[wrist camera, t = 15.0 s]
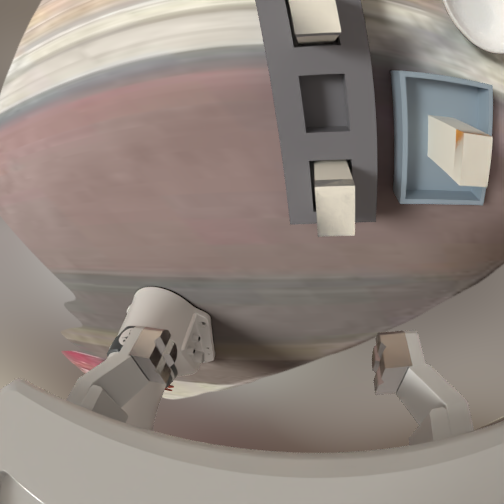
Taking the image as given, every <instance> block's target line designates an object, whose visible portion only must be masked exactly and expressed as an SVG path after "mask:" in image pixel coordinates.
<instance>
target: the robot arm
mask: <svg viewBox="0 0 504 504" xmlns="http://www.w3.org/2000/svg"><path fill="white" fill-rule="evenodd" d="M107 357H108V358H107V359H106V360H105V361H104V362H102V363H101V364H99V365H98V366H96V367H95V368H93V369H92V370H90V371H89V372H87V373H86V374H84V375H83V376H82V377H80V378H78V380H77V382H76V384H75V386H74V387H73V389H72V391H71V392H70V394H69V396H68V398H67V400H65V399H63V398H60V397H58V396H56V395H54V394H52V393H50V392H48V391H46V390H43V389H41V388H39V387H38V386H36V385H34V384H32V383H30V382H28V381H27V380H25V379H22V378H18V379H15V380H14V381H12V382H10V383H9V384H7V385H6V386H4V387H3V388H2V389H0V504H504V421H502V422H499V423H497V424H494V425H491V426H488V427H485V428H482V429H478V430H475V431H474V429H473V424H472V419H471V414H470V409H469V405H468V401H467V400H466V399H465V398H464V397H463V396H462V395H461V394H460V393H459V392H458V391H457V390H456V389H455V388H454V387H453V386H452V385H451V384H450V383H448V381H446V379H444V377H442V376H441V375H440V374H439V373H438V372H437V371H436V370H435V369H434V368H433V367H432V366H431V365H429V364H428V365H426V362H425V358H424V354H423V350H422V347H421V343H420V339H419V336H418V332H417V331H416V330H409V331H395V332H383V333H378V334H377V336H376V346H374V348H373V354H372V368H373V371H374V372H375V373H376V375H375V378H374V386H375V395H378V394H393V393H396V395H397V396H398V397H399V399H400V400H401V402H402V403H403V404H404V405H405V407H406V408H407V410H408V411H409V412H410V414H411V415H412V416H413V418H414V419H415V420H416V421H417V423H418V424H419V426H418V428H417V429H416V430H415V431H414V432H413V434H412V435H411V436H410V437H409V446H403V447H397V448H389V449H380V450H370V451H358V452H341V453H340V452H338V453H294V452H275V451H262V450H252V449H243V448H235V447H227V446H221V445H215V444H209V443H203V442H197V441H193V440H188V439H183V438H179V437H175V436H170V435H166V434H162V433H159V432H155V431H153V427H154V421H155V417H156V413H157V409H158V406H159V403H160V401H161V398H162V395H163V392H164V390H169V391H172V390H171V389H167V387H168V388H173V387H174V386H171V385H170V384H171V383H172V382H173V380H174V379H175V378H176V377H177V376H185V375H191V374H194V373H196V372H197V371H198V369H199V367H200V364H201V363H205V362H210V361H213V360H214V358H215V351H214V343H213V335H212V326H211V318H210V316H209V315H208V314H207V313H205V312H203V311H201V310H199V309H197V308H195V307H193V306H192V305H191V304H190V303H188V302H187V301H186V300H185V299H183V298H182V297H180V296H179V295H177V294H175V293H173V292H171V291H168V290H165V289H162V288H157V287H145V288H142V289H140V290H138V291H137V292H136V294H135V295H134V299H133V302H132V304H131V305H130V306H129V307H128V309H127V316H126V318H125V320H124V322H123V325H122V327H121V329H120V331H119V334H118V336H117V337H116V338H115V340H114V342H113V343H112V345H111V346H110V348H109V351H108V353H107Z"/></svg>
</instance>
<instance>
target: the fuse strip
mask: <svg viewBox="0 0 504 504" xmlns="http://www.w3.org/2000/svg"><path fill="white" fill-rule="evenodd" d="M255 1H256V6H257V11H258V16H259V21H260V26H261V31H262V36H263V42H264V47H265V52H266V58H267V64H268V69H269V75H270V81H271V87H272V93H273V99H274V106H275V112H276V119H277V125H278V132H279V139H280V146H281V153H282V161H283V168H284V176H285V184H286V192H287V200H288V209H289V217H290V224H315V223H317V213H316V198H315V176H314V161H317V160H343V159H346V162H347V164H348V167H349V170H350V173H351V175H352V178H353V181H354V184H355V222H376V206H377V128H376V109H375V96H374V84H373V75H372V66H371V58H370V51H369V44H368V37H367V31H366V25H365V20H364V15H363V10H362V5H361V0H335V2H336V6H337V11H338V16H339V22H340V27H341V34H340V35H339V36H338V37H337V39H336V40H335V41H334V42H333V44H312V45H299V43H298V41H297V38H296V35H295V30H294V25H293V20H292V15H291V10H290V5H289V0H255Z"/></svg>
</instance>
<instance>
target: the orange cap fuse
mask: <svg viewBox="0 0 504 504" xmlns="http://www.w3.org/2000/svg"><path fill="white" fill-rule="evenodd" d="M492 142H493V137H492V136H490V135H488V134H486V133H484V132H482V131H480V130H478V129H476V128H474V127H472V126H470V125H468V124H466V123H464V122H462V121H460V120H457V119H455V118H452V117H443V116H433V115H428V155H427V156H428V157H429V158H430V159H432V160H433V161H434V162H435V163H436V164H437V165H438V166H439V167H440V168H442V169H443V170H444V171H445V172H446V173H447V174H448V175H449V176H450V177H451V178H452V179H453V180H454V181H455V182H456V183H457V184H458V185H459V186H477V187H487V185H488V179H489V171H490V163H491V154H492Z"/></svg>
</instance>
